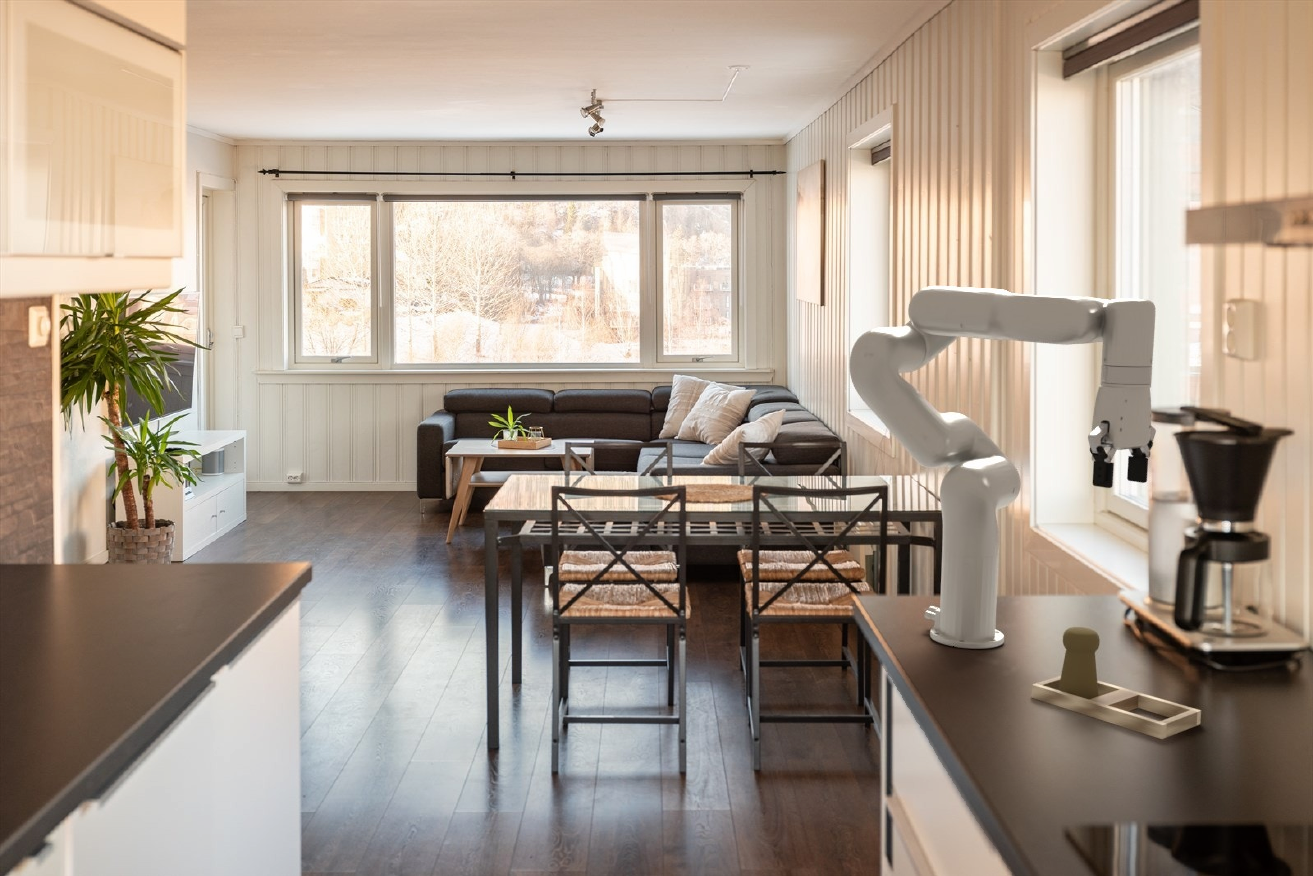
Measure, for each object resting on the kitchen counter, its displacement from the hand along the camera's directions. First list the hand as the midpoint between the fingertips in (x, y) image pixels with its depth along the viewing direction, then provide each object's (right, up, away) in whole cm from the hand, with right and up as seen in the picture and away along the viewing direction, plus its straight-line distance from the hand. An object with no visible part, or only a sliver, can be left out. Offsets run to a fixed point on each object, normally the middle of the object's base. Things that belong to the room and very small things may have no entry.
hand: (1119, 484), depth 192 cm
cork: (-11, -32, -12) cm, 36 cm away
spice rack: (-7, -32, -17) cm, 37 cm away
